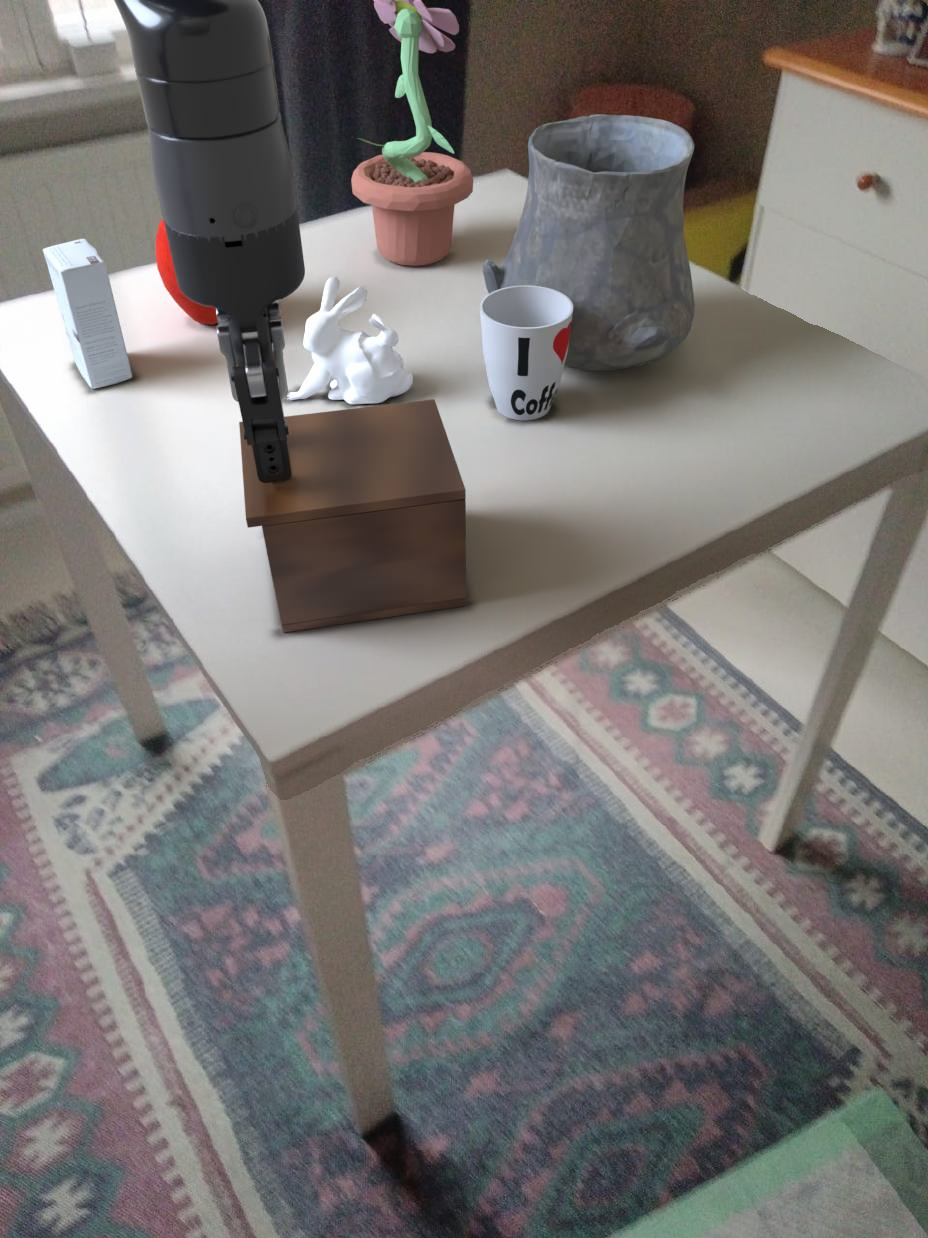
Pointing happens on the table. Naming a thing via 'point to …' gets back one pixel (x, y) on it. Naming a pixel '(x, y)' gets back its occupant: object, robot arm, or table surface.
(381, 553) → the chest
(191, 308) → the apple
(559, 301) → the cup
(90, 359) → the cosmetic box
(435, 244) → the decorative flower
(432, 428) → the lid
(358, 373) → the rabbit figurine
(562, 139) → the vessel
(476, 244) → the table surface
